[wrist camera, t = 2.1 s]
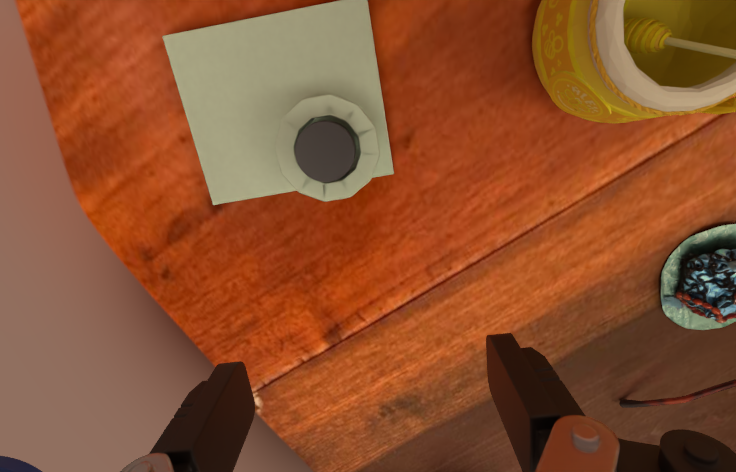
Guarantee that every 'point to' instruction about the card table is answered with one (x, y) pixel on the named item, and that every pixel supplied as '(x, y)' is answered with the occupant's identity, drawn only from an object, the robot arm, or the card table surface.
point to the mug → (637, 57)
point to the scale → (281, 98)
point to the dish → (702, 280)
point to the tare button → (325, 151)
